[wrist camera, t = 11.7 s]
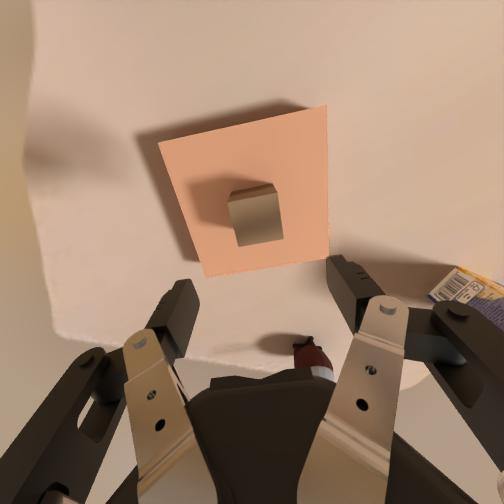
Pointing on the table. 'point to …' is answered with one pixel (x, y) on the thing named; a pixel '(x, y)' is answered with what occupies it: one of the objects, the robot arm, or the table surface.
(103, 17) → the table surface
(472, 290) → the beverage box
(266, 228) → the walnut cube
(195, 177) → the terracotta base
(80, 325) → the table surface
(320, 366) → the mate gourd
